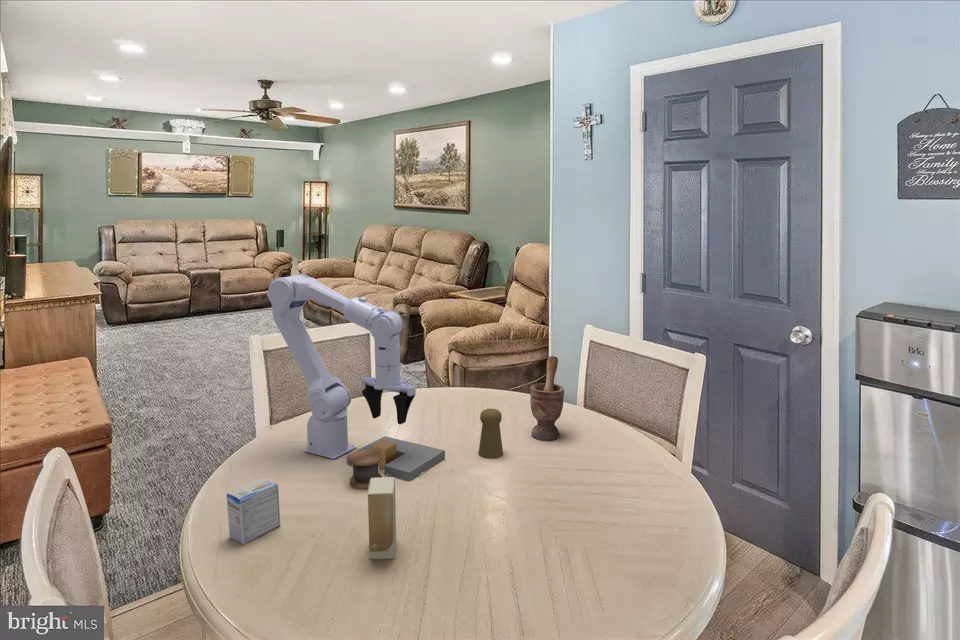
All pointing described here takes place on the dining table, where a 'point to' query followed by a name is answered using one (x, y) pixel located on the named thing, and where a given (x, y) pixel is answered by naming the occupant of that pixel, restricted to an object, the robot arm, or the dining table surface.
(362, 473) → the bobbin
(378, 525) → the skincare box
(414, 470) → the notched board
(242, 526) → the medicine box
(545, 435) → the mortar and pestle
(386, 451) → the block
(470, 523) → the dining table surface
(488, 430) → the olive pawn
